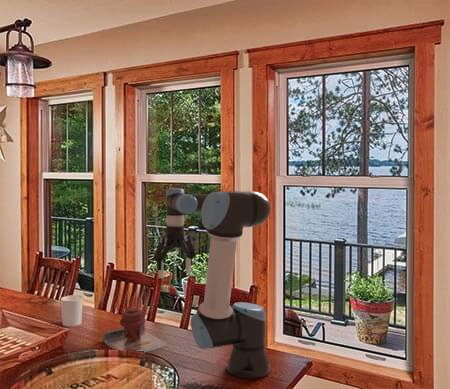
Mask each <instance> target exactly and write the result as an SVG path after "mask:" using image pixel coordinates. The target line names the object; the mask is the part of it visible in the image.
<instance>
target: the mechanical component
mask: <svg viewBox="0 0 450 389" xmlns="http://www.w3.org/2000/svg"><path fill="white" fill-rule="evenodd" d="M143 324H144V325H145V324H146V318H145V317H144V311H143V309H140V308H139V309H138V308H135V307H131V308H128V309H126V310H123V311H122V312H121V318H120V320H119V325H120V326H122V328H124V337H126V338H128V342H132V341H134V340H137V339H140V338H141V326H142V325H143Z"/></svg>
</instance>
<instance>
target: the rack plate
mask: <svg viewBox="0 0 450 389" xmlns="http://www.w3.org/2000/svg"><path fill="white" fill-rule="evenodd" d="M145 326H146V324H145V323H144V324H143V325H142V326H141V338H140V339H137V340H134V341H132V342H128V338H126V337H124V327H121V328H117V329H113V330H109V331H104V332H102V342H103V344H105V345H106V346H108V347H109V348H111V349H112V350H114V349H119V350H136V351H144V353H149V352H151V351H155V350H158V349H162V348H165V347H167V342H166V341H164V340H162V339H160V338H158V337H156V336H155V335H153V334H151V333H150V332H147V331H146V329H145Z"/></svg>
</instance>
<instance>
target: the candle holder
mask: <svg viewBox="0 0 450 389" xmlns="http://www.w3.org/2000/svg"><path fill="white" fill-rule="evenodd" d="M83 304H84V296H82V295H75V294H72V295H65V296H63V297H61V298H60V307H61V309H60V310H61V324H62V326H64V327H78V326H80V325H81V324H82V321H83V320H82V319H83Z"/></svg>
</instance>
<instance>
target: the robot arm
mask: <svg viewBox="0 0 450 389" xmlns="http://www.w3.org/2000/svg"><path fill="white" fill-rule="evenodd" d="M165 194H166V196H165V202H166V203H165V204H166V205H165V206H166V207H165V211H166V212H165V214H166V215H165V217H166V218H165V219H166V220H165V223H166V224H165V225H166V226H165V229H166V230H165V233H166V237H159V240H158V241H159V243H158V245H157V247H156V250H155V253H154V254H153V257H152V261H153V262H156V270H157V271H158V275H157V276H158V279H164V269H165V268H164V259H165V257H166V256H167V255H168V253H169V252H170V250H172V249H176V248H180V250H181V251H182V252H183V253H184V255H185V256H186V257H185V273H186V274H187V275H192V274H191V273H192V270H191V269H192V266H193V259H194V258H195V257H197V252H196V251H195V248H194V246H193V244H192V241H191V236H190V235H186V234H185V226H184V225H185V214H194V213H195V214H199V213H200V216H201V223H202V226H203V227H204V228H205V229H206V233H207V234H208V235H209V236H210V240H209V248H208V249H209V250H208V259H207V260H208V261H207V267H206V268H207V269H206V270H207V271H206V278H205V279H206V280H205V287H204V299H203V302H202V303H201V304H200V305H199V306H198V312H197V313H194V314H192V316H191V318H190V329H191V333H192V337H193V339H194V342H195V344H196V345H197V347H199V349H201V350H208V349H211V350H213V349H214V348H216V349H217V348H221V347H225V346H232V347H231V351H230V355H229V359H228V360H227V363H226V364H227V367H226V370H227V372H228V373H229V374H231V376H234V377H237V378H242V379H247V380H248V379H249V380H251V379H260V378H263V377H265V376H267V375H269V373H270V372H271V363H270V361H269V357H268V353H267V350H266V328H267V327H266V326H267V324H266V323H267V318H266V310H265V309H264V307H263V306H260V305H258V304H255V303H252V302H251V303H250V302H241V301H240V302H235V303H233V304H232V306H231V305H230V301H231V294H232V287H233V286H232V284H233V277H234V268H235V260H236V259H235V258H236V250H237V243H238V239H240V238H241V237H242V236H243V230H244V228H253V227H257V226H260V225H262V224H263V223H265V221H267V220H268V218H269V217H270V213H271V203H270V201H269V199H268V198H267V197H266V196H265V195H264V194H263V193H261V192H257V191H251V190H248V191H235V190H233V191H230V190H229V191H228V190H227V191H225V190H221V191H213V192H211V193H191V194H190V193H185V190H184V188H167V190H166V193H165ZM184 242H185V243H184ZM185 244H186V245H185Z"/></svg>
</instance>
